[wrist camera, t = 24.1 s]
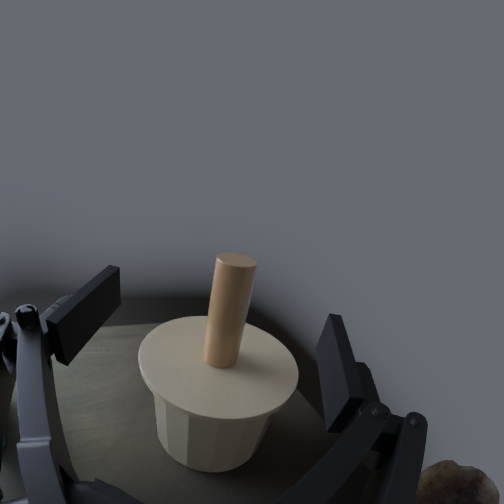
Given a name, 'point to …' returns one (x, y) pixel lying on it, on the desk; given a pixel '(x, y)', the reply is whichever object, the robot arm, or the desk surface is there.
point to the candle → (455, 485)
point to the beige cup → (207, 439)
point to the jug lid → (220, 355)
